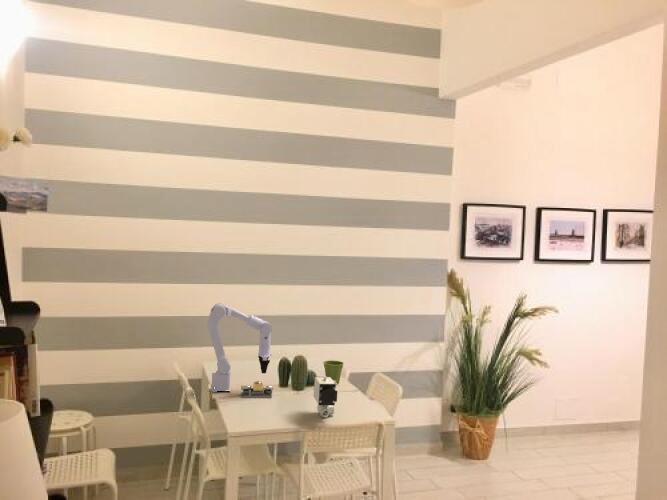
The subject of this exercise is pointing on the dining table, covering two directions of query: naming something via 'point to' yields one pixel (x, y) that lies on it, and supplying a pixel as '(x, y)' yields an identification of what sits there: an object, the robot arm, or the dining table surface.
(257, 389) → the coupler
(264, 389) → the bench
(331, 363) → the plant pot
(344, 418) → the dining table surface
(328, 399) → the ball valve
